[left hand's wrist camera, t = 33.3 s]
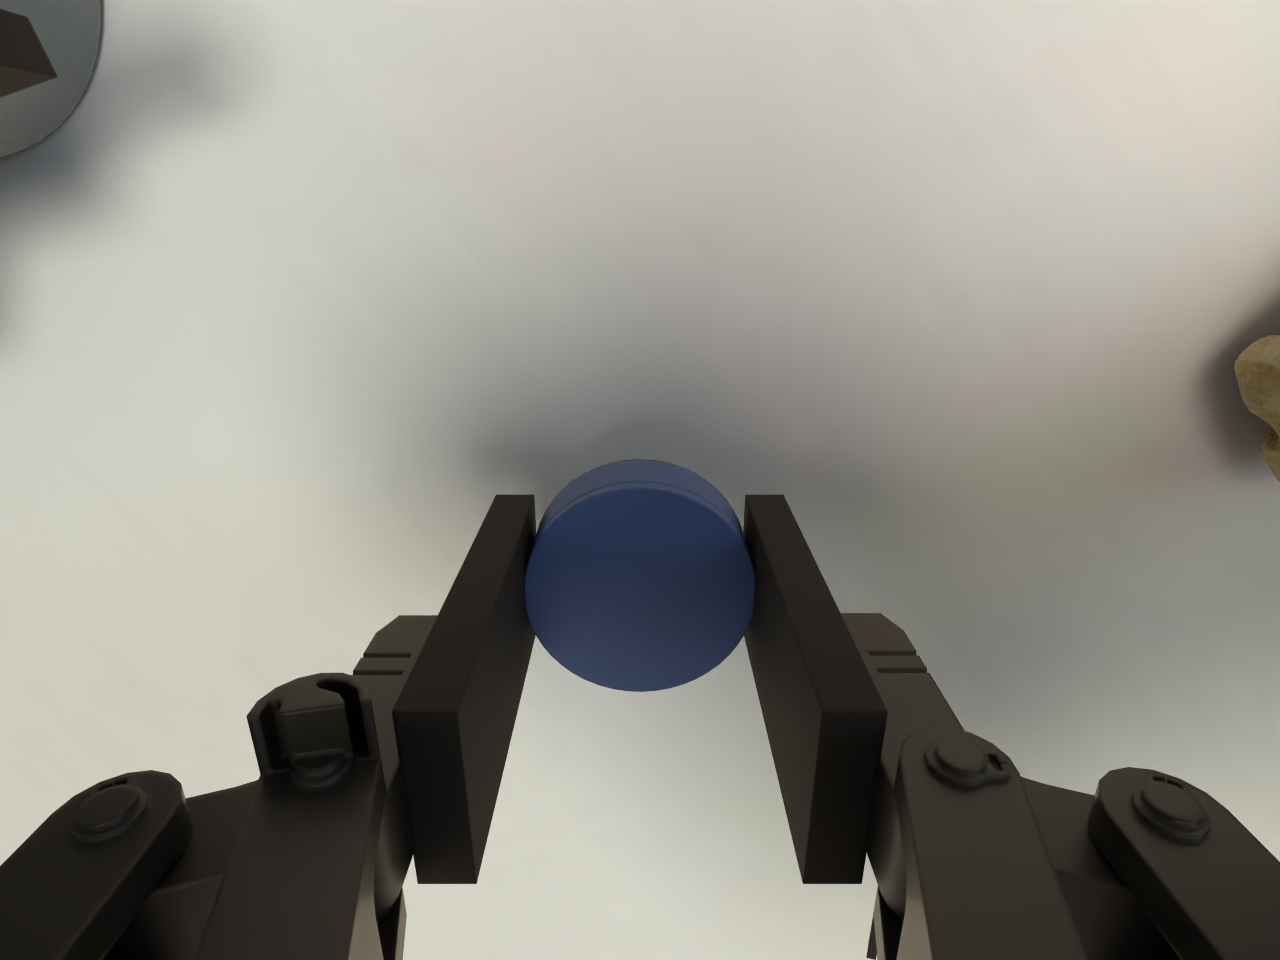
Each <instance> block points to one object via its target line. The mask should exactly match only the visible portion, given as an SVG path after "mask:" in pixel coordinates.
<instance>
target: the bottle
mask: <svg viewBox="0 0 1280 960" xmlns="http://www.w3.org/2000/svg"><path fill="white" fill-rule="evenodd" d="M0 9H3V10H6V11H9V12H13V13H16V14H19V15H23V16H26V17H28V19H29V21H30V23H31V25H32V27H33V29H34V31H35V33H36V35H37V36H38V38H39V40H40V42H41V44H42V46H43V48H44V50H45V52H46V54H47V56H48V58H49V60H50V62H51V64H52V66H53V68H54V70H55V72H56V74H57V76H58V77H57V78H54V79H51V80H49V81H46V82H43V83H40V84H37V85H35V86H32V87H29V88H26V89H23V90H21V91H18V92H15V93H12V94H9V95H7V96H4V97H1V98H0V157H3V156H6V155H9V154H13V153H16V152H19V151H22V150H24V149H26V148H28V147H30V146H32V145H34V144H36V143H38V142H40V141H41V140H42V139H44V138H45V137H46V136H48V135H49V134H50V133H52V132H53V131H54V130H56V129H57V128H58V127H59V126H60V125H61V124H62V123H63V121H64V120H65V119H66V118H67V117H68V116H69V115H70V114H71V112H72V111H73V109H74V108H75V106H76V105H77V103H78V102H79V100H80V99H81V97H82V95H83V93H84V91H85V89H86V87H87V84H88V82H89V80H90V78H91V75H92V71H93V68H94V64H95V61H96V57H97V53H98V45H99V38H100V31H101V1H100V0H0Z"/></svg>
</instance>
